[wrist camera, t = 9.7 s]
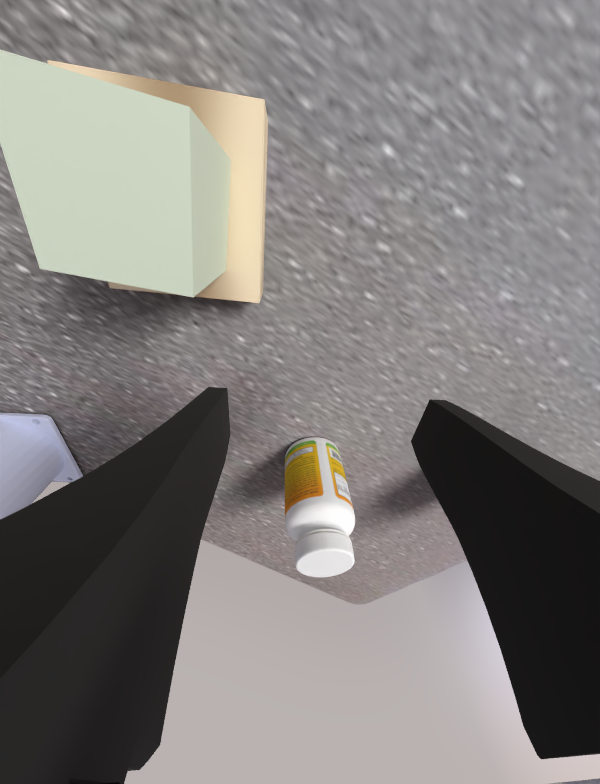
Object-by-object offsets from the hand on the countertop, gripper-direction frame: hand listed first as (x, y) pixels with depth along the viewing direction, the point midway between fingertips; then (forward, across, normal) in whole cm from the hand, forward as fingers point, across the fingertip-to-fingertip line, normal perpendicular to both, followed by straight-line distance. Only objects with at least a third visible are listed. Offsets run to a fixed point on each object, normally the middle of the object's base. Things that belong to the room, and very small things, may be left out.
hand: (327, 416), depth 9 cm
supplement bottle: (+11, -2, +13) cm, 17 cm away
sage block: (+8, +7, -6) cm, 12 cm away
